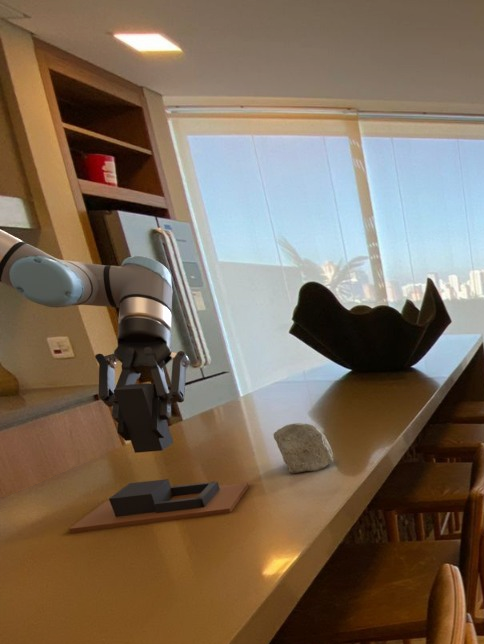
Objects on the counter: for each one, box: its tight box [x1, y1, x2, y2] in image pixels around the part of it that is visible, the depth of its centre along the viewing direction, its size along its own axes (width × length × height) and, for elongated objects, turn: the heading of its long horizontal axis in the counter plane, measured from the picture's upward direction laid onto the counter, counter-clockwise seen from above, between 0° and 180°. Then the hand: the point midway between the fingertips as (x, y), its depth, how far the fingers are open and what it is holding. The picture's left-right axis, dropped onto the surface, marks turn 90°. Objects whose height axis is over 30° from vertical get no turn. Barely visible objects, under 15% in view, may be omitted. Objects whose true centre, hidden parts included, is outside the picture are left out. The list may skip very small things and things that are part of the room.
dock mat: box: [68, 478, 250, 534], centre depth 92 cm, size 20×14×4 cm
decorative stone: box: [272, 422, 334, 474], centre depth 112 cm, size 13×11×10 cm
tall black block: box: [114, 382, 174, 454], centre depth 100 cm, size 4×6×11 cm, turn 23°
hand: (141, 434), depth 98 cm, fingers closed on tall black block, 4 cm apart
